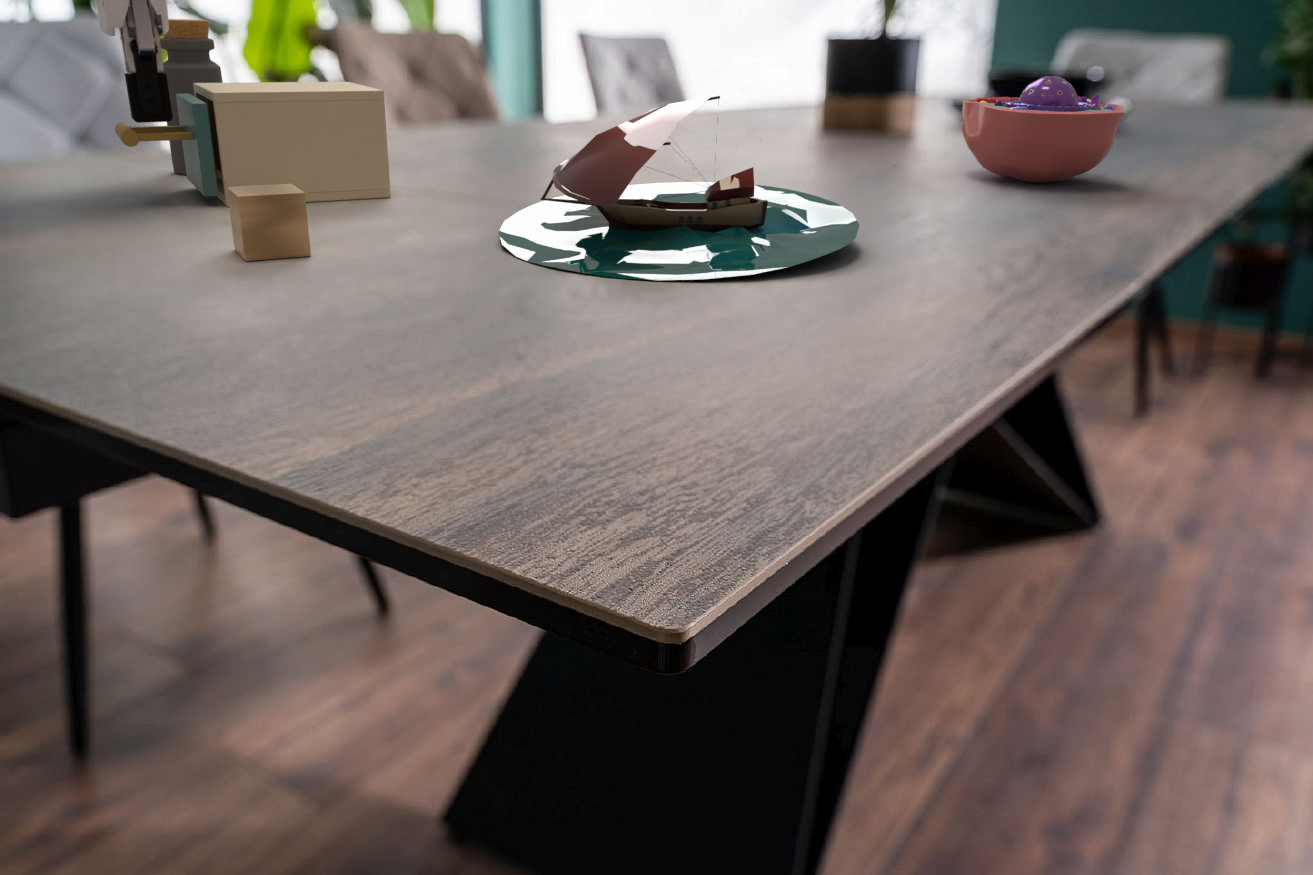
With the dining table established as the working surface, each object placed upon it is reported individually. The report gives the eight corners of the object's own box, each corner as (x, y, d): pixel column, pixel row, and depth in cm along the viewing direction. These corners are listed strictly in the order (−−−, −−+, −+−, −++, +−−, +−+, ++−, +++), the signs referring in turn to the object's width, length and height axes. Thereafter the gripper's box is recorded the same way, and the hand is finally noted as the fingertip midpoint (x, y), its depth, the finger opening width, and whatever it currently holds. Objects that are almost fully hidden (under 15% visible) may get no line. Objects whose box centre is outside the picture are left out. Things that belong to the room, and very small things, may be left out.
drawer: (132, 200, 92) (117, 104, 89) (121, 181, 101) (107, 94, 98) (358, 188, 100) (352, 100, 97) (329, 172, 110) (322, 91, 107)
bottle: (232, 175, 112) (214, 20, 107) (171, 176, 110) (149, 19, 105) (233, 167, 117) (216, 19, 112) (175, 168, 116) (154, 18, 110)
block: (245, 261, 75) (237, 196, 73) (234, 249, 79) (226, 186, 77) (311, 256, 77) (305, 192, 75) (297, 244, 81) (291, 183, 79)
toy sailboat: (504, 209, 97) (493, 79, 92) (811, 193, 99) (815, 66, 94) (494, 312, 72) (478, 142, 67) (905, 288, 74) (918, 121, 69)
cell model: (1096, 172, 130) (1113, 73, 126) (1124, 197, 112) (1144, 82, 108) (952, 164, 134) (963, 68, 129) (956, 187, 115) (970, 76, 111)
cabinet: (227, 206, 95) (213, 92, 91) (206, 186, 105) (192, 82, 101) (390, 197, 101) (383, 90, 98) (356, 178, 112) (348, 81, 108)
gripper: (62, -107, 93) (100, 115, 100) (69, -122, 81) (112, 131, 88) (156, -102, 96) (187, 112, 103) (177, -116, 84) (210, 128, 91)
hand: (152, 120), depth 95 cm, fingers closed
